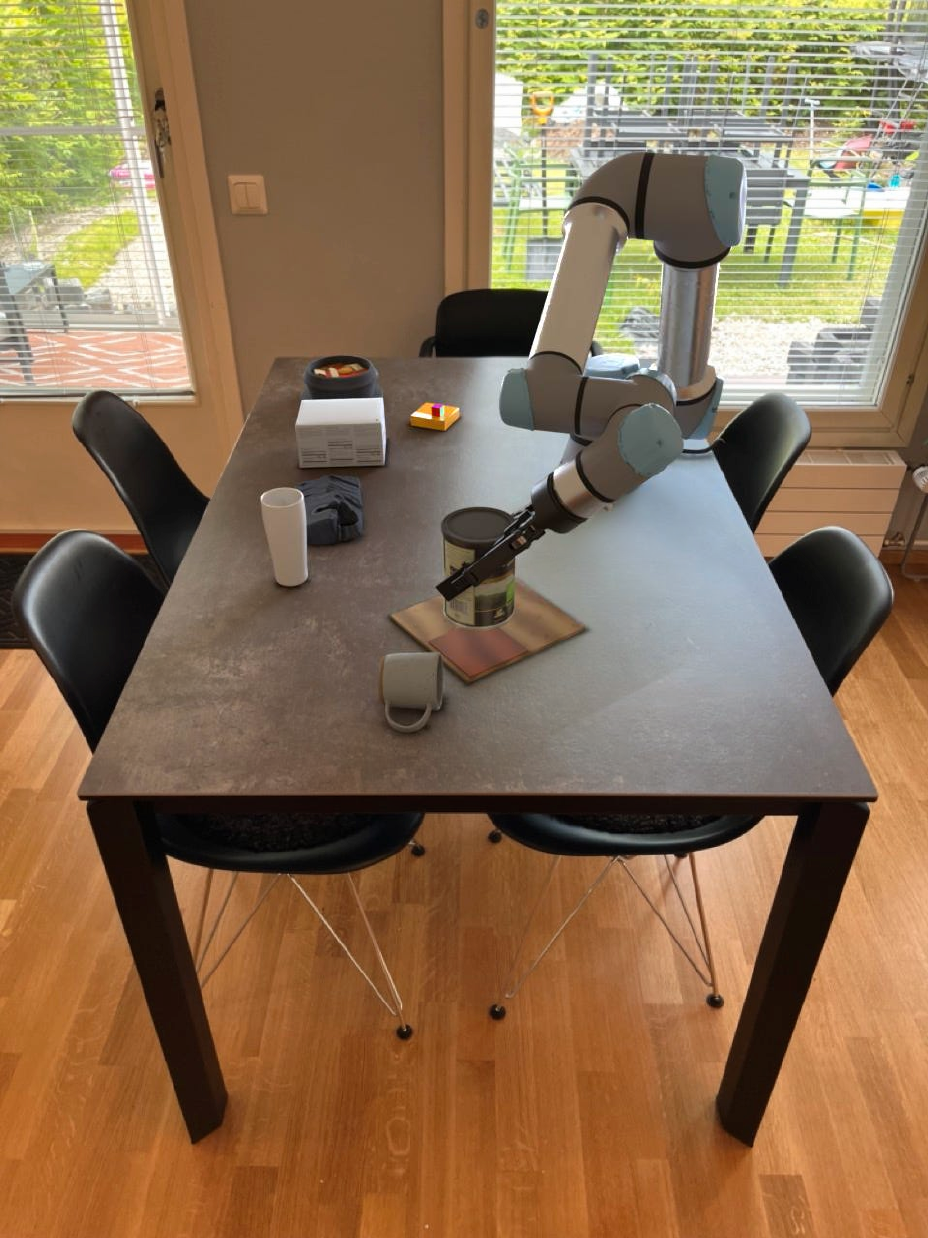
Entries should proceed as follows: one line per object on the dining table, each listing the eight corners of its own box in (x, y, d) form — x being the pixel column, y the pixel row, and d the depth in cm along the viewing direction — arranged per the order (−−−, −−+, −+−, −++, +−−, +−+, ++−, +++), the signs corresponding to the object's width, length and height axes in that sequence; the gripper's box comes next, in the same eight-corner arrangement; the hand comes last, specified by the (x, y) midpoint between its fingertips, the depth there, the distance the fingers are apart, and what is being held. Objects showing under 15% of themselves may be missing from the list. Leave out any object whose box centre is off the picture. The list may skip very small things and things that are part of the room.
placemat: (503, 573, 159) (504, 569, 159) (585, 630, 146) (585, 625, 145) (390, 618, 149) (390, 614, 148) (467, 684, 135) (467, 679, 135)
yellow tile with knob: (410, 425, 209) (409, 406, 206) (426, 411, 215) (425, 393, 212) (444, 431, 206) (444, 412, 204) (459, 417, 212) (459, 398, 210)
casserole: (381, 423, 210) (379, 386, 205) (295, 425, 209) (291, 388, 204) (385, 380, 230) (383, 346, 225) (306, 382, 230) (303, 347, 225)
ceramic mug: (386, 683, 136) (383, 639, 131) (444, 685, 135) (443, 641, 131) (374, 734, 127) (371, 689, 123) (437, 737, 126) (435, 692, 122)
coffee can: (520, 595, 141) (522, 509, 133) (508, 635, 133) (510, 546, 125) (450, 587, 143) (449, 502, 135) (435, 627, 135) (432, 538, 127)
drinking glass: (320, 572, 160) (311, 490, 151) (301, 593, 155) (291, 510, 146) (283, 565, 162) (272, 484, 153) (263, 586, 156) (251, 503, 148)
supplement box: (386, 438, 203) (384, 396, 198) (384, 466, 192) (382, 422, 187) (305, 440, 202) (300, 398, 197) (299, 468, 192) (294, 424, 186)
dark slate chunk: (372, 487, 185) (370, 464, 182) (361, 545, 167) (359, 521, 164) (292, 486, 185) (289, 464, 182) (272, 545, 167) (269, 521, 164)
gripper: (560, 559, 114) (442, 637, 128) (616, 480, 131) (506, 556, 145) (519, 511, 113) (404, 594, 127) (581, 437, 130) (474, 518, 144)
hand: (459, 574), depth 136 cm, fingers closed on coffee can, 10 cm apart
